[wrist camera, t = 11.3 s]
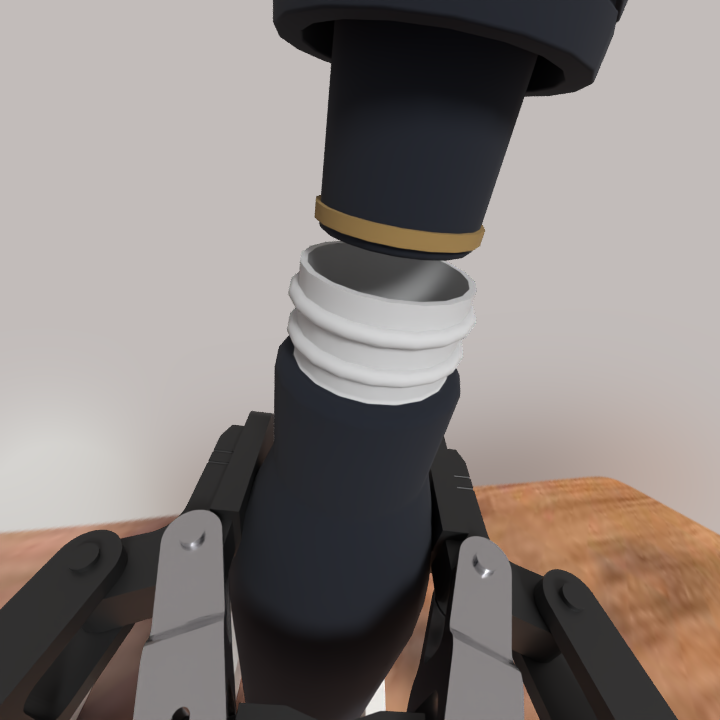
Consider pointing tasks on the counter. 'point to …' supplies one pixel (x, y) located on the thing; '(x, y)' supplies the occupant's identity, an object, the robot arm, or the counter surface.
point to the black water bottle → (383, 324)
